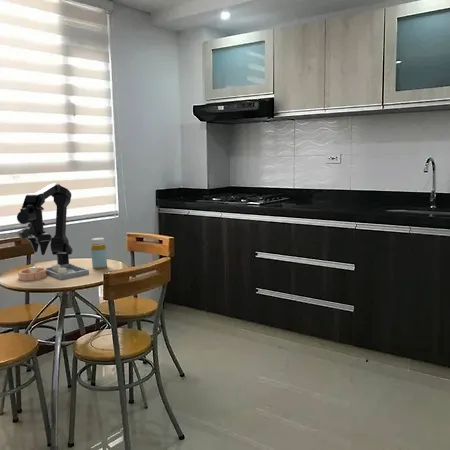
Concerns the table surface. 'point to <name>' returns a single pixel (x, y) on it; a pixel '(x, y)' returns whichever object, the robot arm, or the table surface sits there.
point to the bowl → (32, 274)
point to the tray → (68, 271)
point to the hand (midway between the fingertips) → (39, 253)
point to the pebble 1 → (33, 269)
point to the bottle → (98, 253)
